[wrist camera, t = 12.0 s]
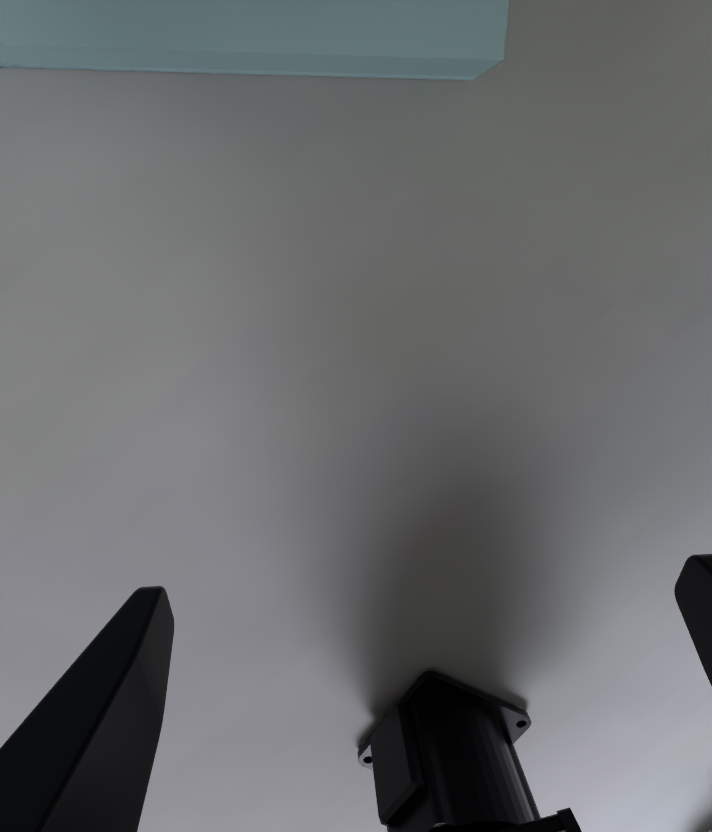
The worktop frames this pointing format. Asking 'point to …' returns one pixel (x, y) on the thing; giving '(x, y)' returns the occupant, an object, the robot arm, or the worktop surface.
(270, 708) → the worktop surface
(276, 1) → the backboard channel
